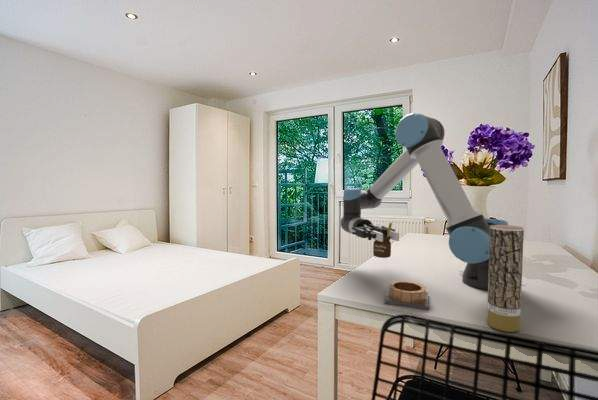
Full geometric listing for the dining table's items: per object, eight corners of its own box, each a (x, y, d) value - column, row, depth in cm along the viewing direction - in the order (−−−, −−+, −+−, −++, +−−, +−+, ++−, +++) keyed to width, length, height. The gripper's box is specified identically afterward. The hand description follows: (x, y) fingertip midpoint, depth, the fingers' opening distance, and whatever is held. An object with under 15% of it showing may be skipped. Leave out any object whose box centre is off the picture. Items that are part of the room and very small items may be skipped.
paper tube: (525, 335, 72) (529, 229, 71) (493, 332, 73) (497, 228, 72) (511, 322, 79) (515, 225, 77) (482, 319, 80) (485, 224, 79)
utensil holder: (379, 253, 112) (379, 220, 111) (394, 256, 107) (395, 222, 106) (369, 255, 107) (370, 221, 107) (385, 259, 103) (386, 223, 102)
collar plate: (428, 295, 97) (428, 283, 97) (428, 310, 86) (428, 296, 86) (389, 290, 102) (389, 278, 102) (384, 303, 91) (384, 290, 91)
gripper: (381, 235, 126) (414, 247, 104) (339, 237, 123) (364, 250, 100) (381, 217, 126) (414, 225, 103) (339, 219, 122) (364, 227, 99)
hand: (390, 237), depth 102 cm, fingers closed on utensil holder, 5 cm apart
